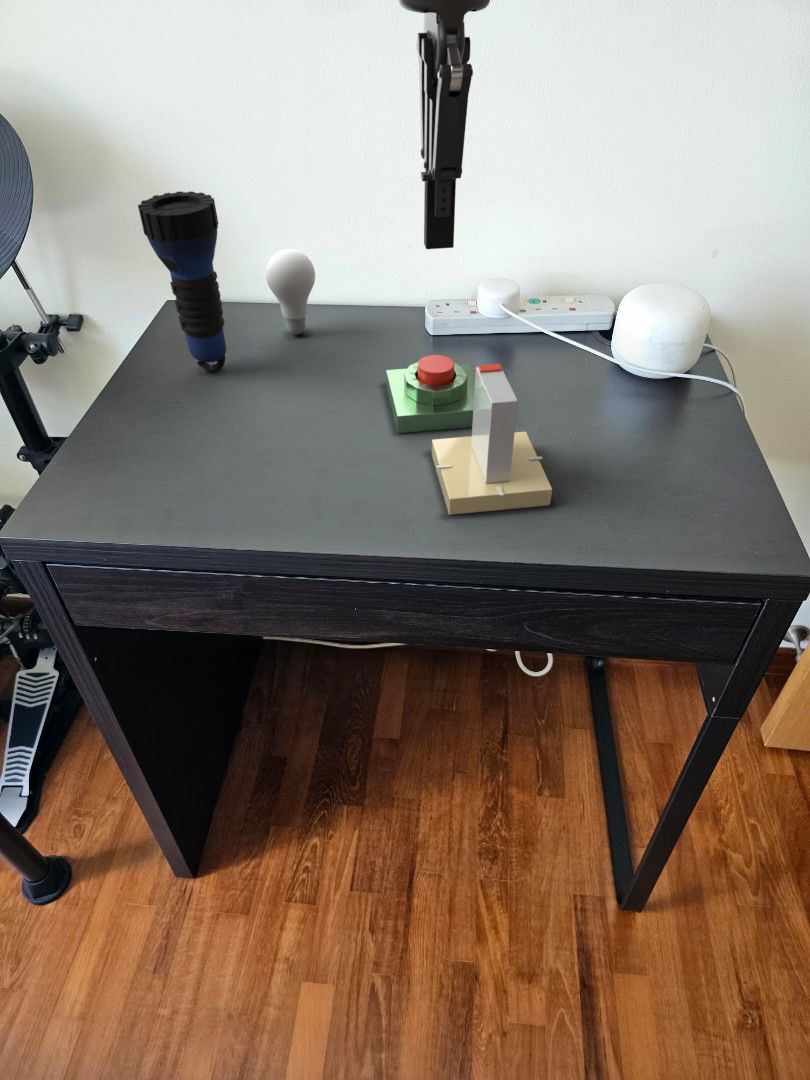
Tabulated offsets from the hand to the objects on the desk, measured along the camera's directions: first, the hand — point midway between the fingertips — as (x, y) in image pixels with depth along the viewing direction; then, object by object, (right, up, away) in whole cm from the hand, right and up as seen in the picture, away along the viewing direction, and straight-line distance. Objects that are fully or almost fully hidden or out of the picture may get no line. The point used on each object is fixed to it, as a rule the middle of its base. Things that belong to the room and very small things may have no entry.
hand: (438, 245), depth 78 cm
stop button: (0, -11, +10) cm, 15 cm away
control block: (0, -14, +12) cm, 18 cm away
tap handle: (+5, -21, 0) cm, 22 cm away
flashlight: (-27, -9, +19) cm, 34 cm away
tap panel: (+5, -23, +2) cm, 24 cm away
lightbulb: (-18, -2, +26) cm, 31 cm away
